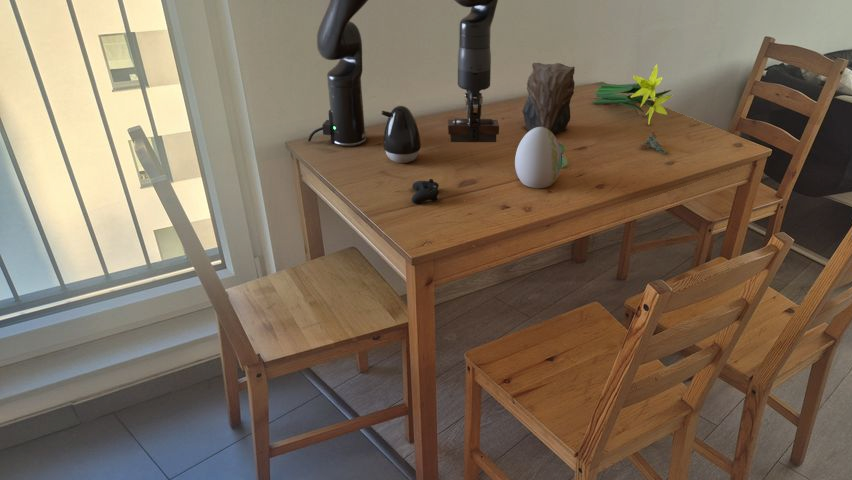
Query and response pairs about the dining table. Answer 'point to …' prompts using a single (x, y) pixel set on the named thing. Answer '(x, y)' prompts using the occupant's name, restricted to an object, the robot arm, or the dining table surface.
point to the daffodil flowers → (635, 94)
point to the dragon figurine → (652, 143)
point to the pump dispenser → (401, 135)
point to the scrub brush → (461, 130)
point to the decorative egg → (538, 158)
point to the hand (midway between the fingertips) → (473, 137)
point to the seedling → (564, 160)
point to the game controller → (425, 191)
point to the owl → (549, 97)
